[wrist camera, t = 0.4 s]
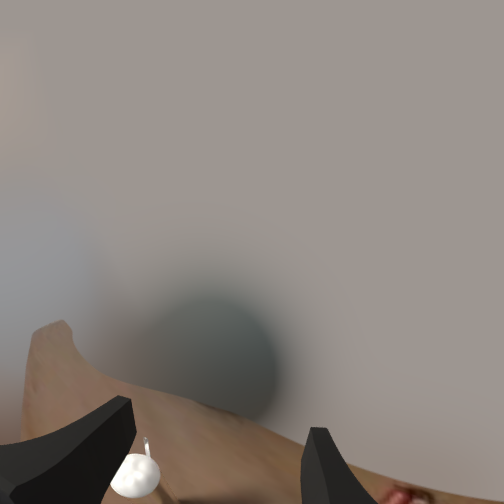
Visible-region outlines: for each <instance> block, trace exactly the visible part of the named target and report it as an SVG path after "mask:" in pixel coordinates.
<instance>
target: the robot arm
mask: <svg viewBox="0 0 504 504" xmlns="http://www.w3.org/2000/svg"><path fill="white" fill-rule="evenodd" d="M136 433H137V431H136V426H135V420H134V414H133V408H132V402H131V399H129V398H126V397H122V396H119V395H118V396H116V397H115V398H113V399H111V400H110V401H108V402H107V403H105V404H104V405H102V406H100V407H99V408H97V409H96V410H94V411H92V412H91V413H89V414H87V415H86V416H84V417H82V418H81V419H79V420H77V421H75V422H73V423H71V424H69V425H67V426H66V427H64V428H61V429H59V430H57V431H55V432H52V433H50V434H47V435H44V436H41V437H38V438H35V439H31V440H27V441H24V442H19V443H14V444H9V445H0V504H101V501H102V499H103V497H104V494H105V492H106V490H107V489H108V487H109V485H110V483H111V482H112V480H113V478H114V477H115V475H116V473H117V472H118V470H119V468H120V466H121V465H122V463H123V461H124V460H125V458H126V456H127V454H128V453H129V451H130V448H131V446H132V444H133V441H134V439H135V436H136ZM300 481H301V493H302V504H378V503H377V502H376V501H375V500H374V499H373V498H372V497H371V496H370V495H369V494H368V492H367V491H366V490H365V489H364V488H363V486H362V485H361V484H360V483H359V481H358V480H357V479H356V477H355V476H354V474H353V473H352V472H351V470H350V469H349V467H348V465H347V464H346V462H345V461H344V459H343V458H342V456H341V454H340V452H339V451H338V449H337V447H336V445H335V443H334V441H333V439H332V437H331V435H330V433H329V431H328V429H327V428H318V427H311V428H310V432H309V435H308V439H307V442H306V445H305V449H304V452H303V456H302V459H301V480H300Z"/></svg>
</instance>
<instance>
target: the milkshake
mask: <svg viewBox="0 0 504 504" xmlns="http://www.w3.org/2000/svg"><path fill="white" fill-rule="evenodd" d="M144 444H145V450H146V456H145V455H142V454H130V455H127V456H126V458H125V460H124V461H123V463H122V465H121V466H120V468H119V470H118V472H117V473H116V475H115V477H114V478H113V480H112V482H111V486H112V488H113V489H114V490H115V491H116V492H117V493H118V494H120V495H121V496H122V497H124V498H125V499H127V500H128V501H129V502H131V503H132V504H181V503H180V502H179V500H178V499H177V497H176V496H175V494H174V493H173V491H172V489H171V488H170V486H169V485H168V483H167V481H166V480H165V478H164V476H163V474H162V472H161V471H160V469H159V467H158V465H157V463H156V462H155V461H154V460H153V459H151V457H150V451H149V444H148V439H147V438H145V437H144Z"/></svg>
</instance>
